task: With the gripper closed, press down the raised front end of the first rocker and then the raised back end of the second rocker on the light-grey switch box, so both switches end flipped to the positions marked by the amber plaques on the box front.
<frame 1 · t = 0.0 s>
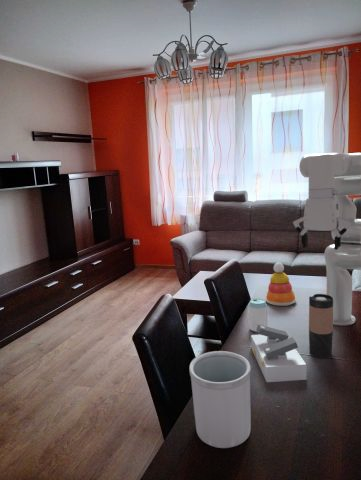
hand: (320, 247, 120), 37 cm above the table, tool pointing down, fingers open, 9 cm apart
can: (258, 329, 150), on the table
switch housing: (276, 362, 124), on the table
travel mug: (320, 353, 128), on the table
utensil holder: (222, 429, 94), on the table
rocker 2: (280, 347, 117), point 8 cm above the table, hinge at 19.0°
rocker 1: (272, 332, 128), point 8 cm above the table, hinge at -19.0°
stacking toy: (280, 302, 177), on the table
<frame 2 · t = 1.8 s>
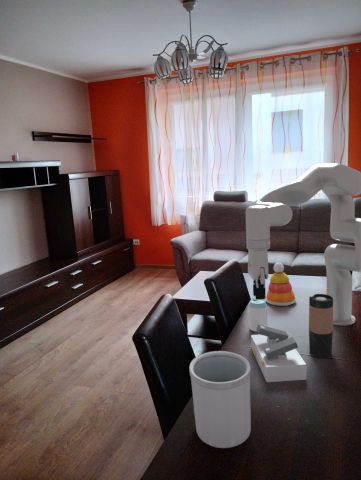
hand: (259, 296, 125), 21 cm above the table, tool pointing down, fingers closed
nothing on the table moved.
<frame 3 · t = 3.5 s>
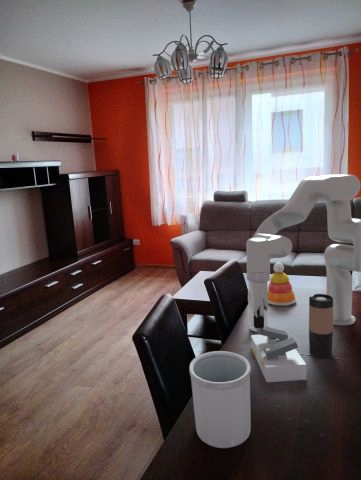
hand: (258, 327, 127), 10 cm above the table, tool pointing down, fingers closed
rocker 1: (272, 332, 128), point 8 cm above the table, hinge at -18.2°, touching gripper
everything else where it was.
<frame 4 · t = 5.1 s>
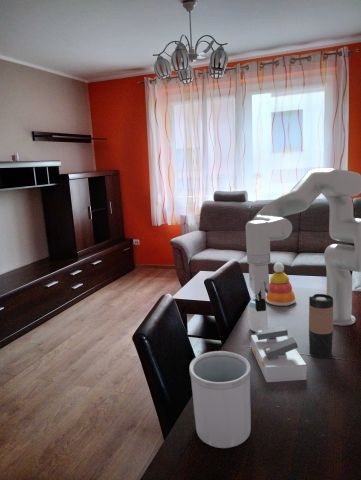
hand: (260, 310, 127), 16 cm above the table, tool pointing down, fingers closed
rocker 1: (271, 332, 128), point 8 cm above the table, hinge at 5.4°
everything else where it was.
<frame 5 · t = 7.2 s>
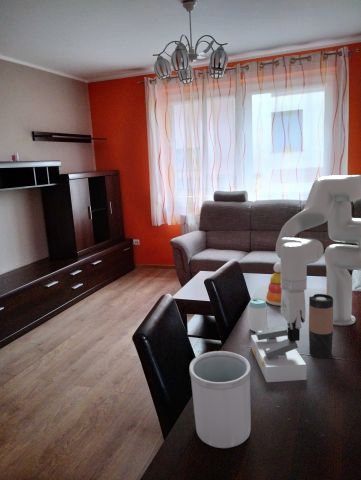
hand: (293, 339, 117), 11 cm above the table, tool pointing down, fingers closed
rocker 2: (280, 347, 117), point 8 cm above the table, hinge at 18.9°, touching gripper
rocker 1: (271, 332, 128), point 8 cm above the table, hinge at 6.1°
everything else where it was.
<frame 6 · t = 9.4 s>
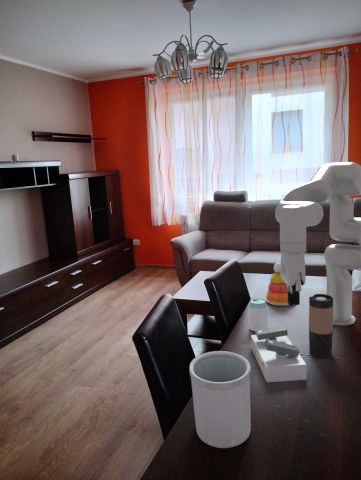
hand: (293, 304, 116), 22 cm above the table, tool pointing down, fingers closed
rocker 2: (281, 347, 117), point 8 cm above the table, hinge at -17.8°
everything else where it was.
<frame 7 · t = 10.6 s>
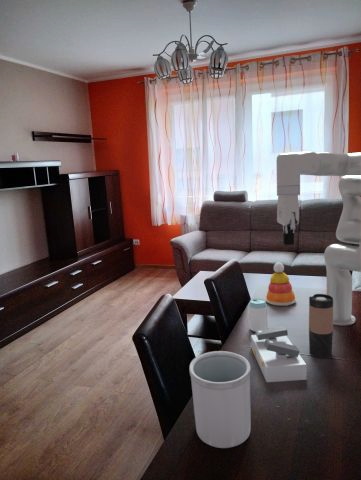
hand: (288, 244, 129), 37 cm above the table, tool pointing down, fingers closed
rocker 2: (281, 347, 117), point 8 cm above the table, hinge at -18.3°
everything else where it was.
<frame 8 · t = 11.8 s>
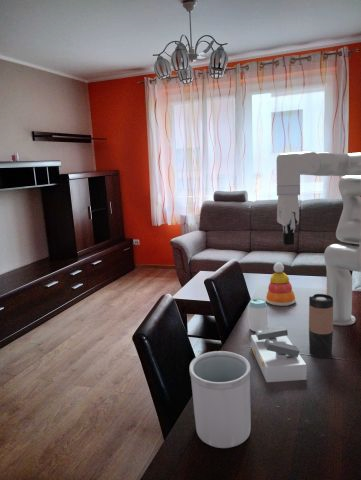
hand: (288, 244, 129), 37 cm above the table, tool pointing down, fingers closed
nothing on the table moved.
at the end: rocker 1 at +6° (first picture: -19°); rocker 2 at -18° (first picture: +19°) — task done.
